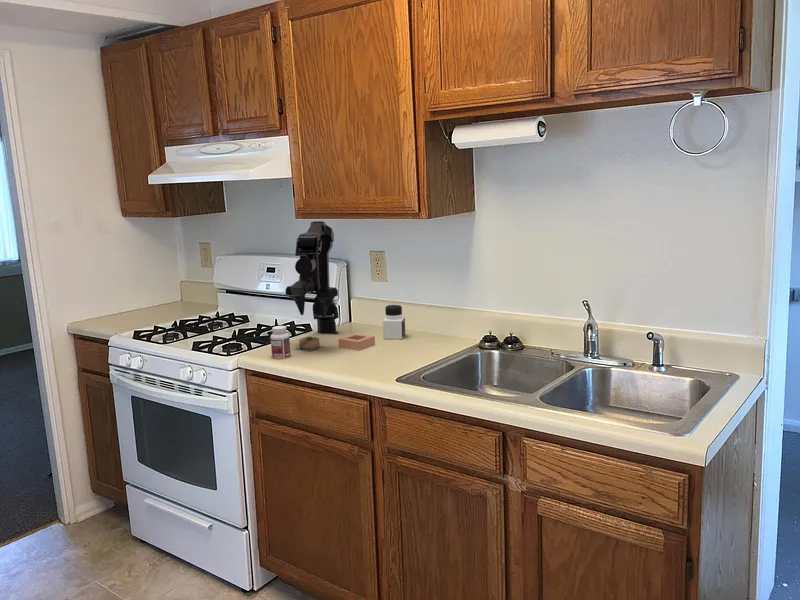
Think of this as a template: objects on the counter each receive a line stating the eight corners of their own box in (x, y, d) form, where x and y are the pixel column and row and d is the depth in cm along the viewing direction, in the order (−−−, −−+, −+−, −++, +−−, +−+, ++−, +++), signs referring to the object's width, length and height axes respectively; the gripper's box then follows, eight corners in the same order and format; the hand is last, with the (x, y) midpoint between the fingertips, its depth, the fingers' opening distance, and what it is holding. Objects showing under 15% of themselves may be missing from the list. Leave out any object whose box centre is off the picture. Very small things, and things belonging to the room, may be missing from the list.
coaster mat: (293, 352, 243) (293, 349, 243) (308, 346, 249) (308, 344, 249) (310, 354, 239) (310, 352, 238) (326, 349, 245) (326, 346, 245)
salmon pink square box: (338, 350, 244) (338, 338, 243) (354, 344, 251) (354, 333, 250) (359, 353, 239) (358, 341, 238) (375, 347, 246) (374, 336, 245)
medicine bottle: (402, 339, 256) (401, 307, 254) (383, 339, 257) (382, 307, 255) (405, 334, 263) (404, 303, 260) (386, 334, 264) (385, 303, 262)
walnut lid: (295, 349, 243) (294, 338, 242) (308, 344, 249) (308, 334, 248) (310, 351, 239) (309, 340, 238) (323, 346, 245) (323, 336, 244)
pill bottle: (287, 355, 238) (285, 324, 236) (293, 360, 233) (291, 327, 231) (269, 358, 235) (267, 326, 233) (275, 363, 230) (273, 330, 228)
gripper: (273, 273, 237) (276, 318, 240) (317, 275, 228) (320, 322, 231) (294, 268, 247) (297, 312, 249) (337, 271, 237) (340, 316, 240)
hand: (312, 315), depth 242 cm, fingers open, 9 cm apart
